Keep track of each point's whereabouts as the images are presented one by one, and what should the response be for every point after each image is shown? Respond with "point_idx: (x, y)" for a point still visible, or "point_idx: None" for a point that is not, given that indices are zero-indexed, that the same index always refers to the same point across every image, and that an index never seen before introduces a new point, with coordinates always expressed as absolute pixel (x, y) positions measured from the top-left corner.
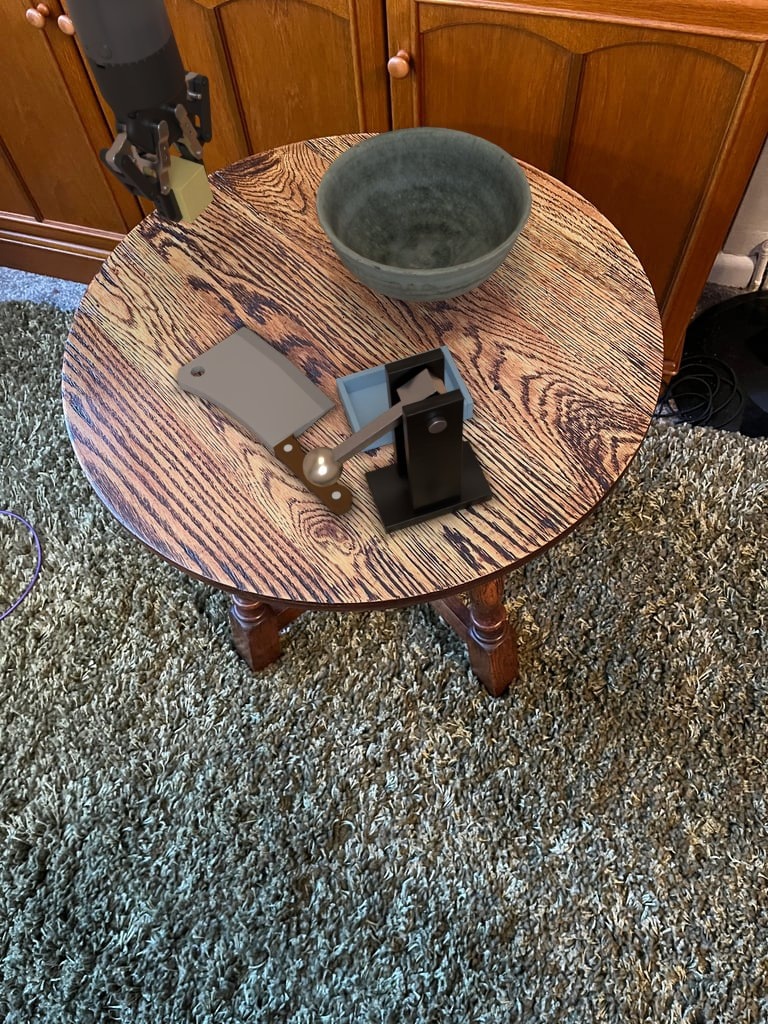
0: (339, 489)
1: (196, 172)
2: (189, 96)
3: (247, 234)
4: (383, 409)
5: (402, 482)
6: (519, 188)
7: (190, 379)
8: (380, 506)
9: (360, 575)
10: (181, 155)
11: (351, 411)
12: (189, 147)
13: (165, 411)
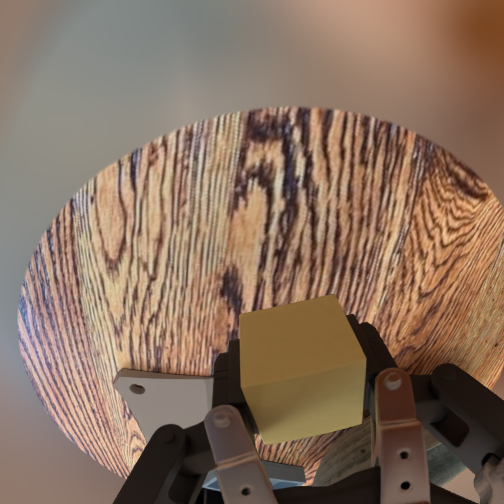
0: None
1: (334, 430)
2: (477, 492)
3: (356, 271)
4: None
5: (202, 492)
6: (437, 481)
7: (125, 390)
8: None
9: None
10: (376, 373)
11: (213, 481)
12: (371, 451)
13: (92, 378)
